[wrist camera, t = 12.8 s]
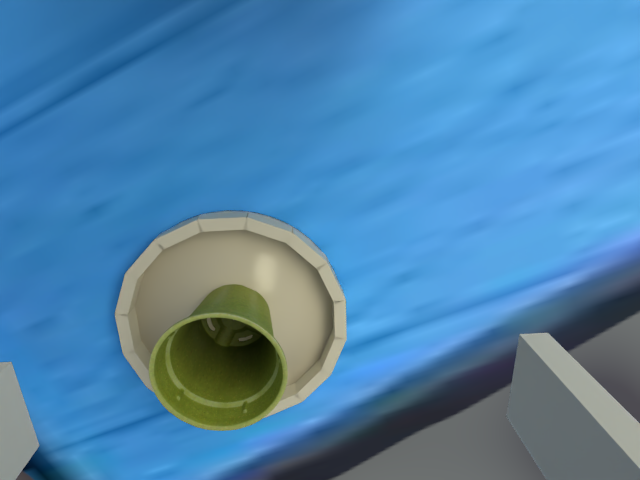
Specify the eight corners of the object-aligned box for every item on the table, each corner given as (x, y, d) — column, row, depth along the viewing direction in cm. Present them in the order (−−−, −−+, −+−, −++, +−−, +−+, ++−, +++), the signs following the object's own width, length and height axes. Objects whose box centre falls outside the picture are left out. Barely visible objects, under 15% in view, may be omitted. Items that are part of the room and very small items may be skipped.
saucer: (109, 216, 35) (96, 224, 32) (340, 204, 36) (344, 212, 33) (146, 408, 41) (138, 427, 38) (344, 393, 42) (347, 411, 39)
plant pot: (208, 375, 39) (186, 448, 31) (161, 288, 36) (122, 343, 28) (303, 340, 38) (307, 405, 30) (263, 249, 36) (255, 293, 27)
